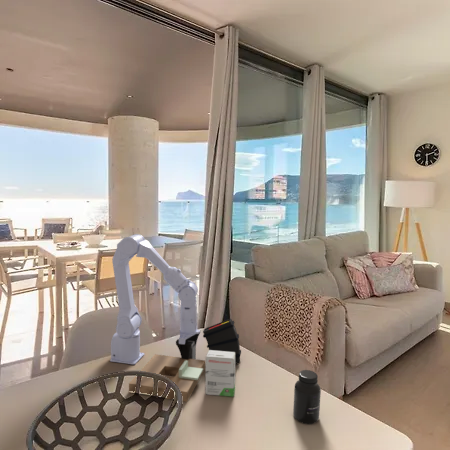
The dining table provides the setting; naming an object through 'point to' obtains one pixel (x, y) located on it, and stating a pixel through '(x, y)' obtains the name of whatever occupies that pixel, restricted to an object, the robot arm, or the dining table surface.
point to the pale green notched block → (189, 371)
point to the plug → (192, 351)
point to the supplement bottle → (307, 397)
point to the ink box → (220, 373)
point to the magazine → (223, 338)
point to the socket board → (168, 367)
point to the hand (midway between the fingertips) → (188, 355)
